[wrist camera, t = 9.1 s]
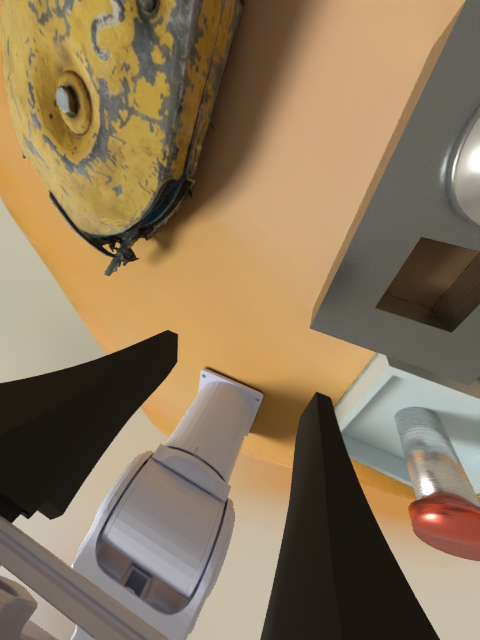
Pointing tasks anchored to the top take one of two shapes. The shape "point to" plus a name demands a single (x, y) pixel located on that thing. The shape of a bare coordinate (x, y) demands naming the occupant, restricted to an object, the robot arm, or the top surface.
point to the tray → (401, 392)
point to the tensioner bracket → (419, 220)
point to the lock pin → (438, 486)
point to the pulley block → (115, 105)
